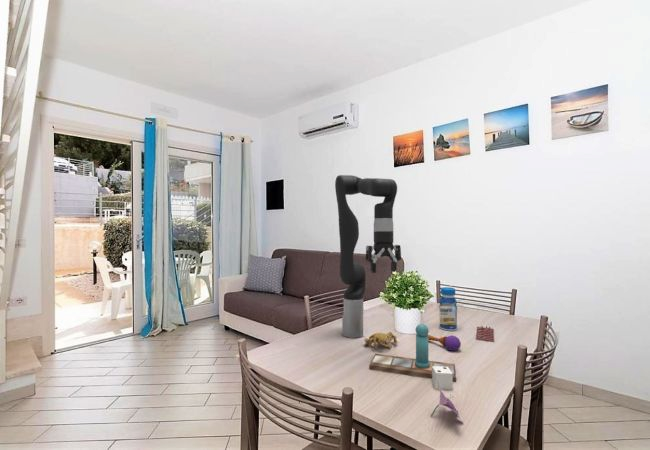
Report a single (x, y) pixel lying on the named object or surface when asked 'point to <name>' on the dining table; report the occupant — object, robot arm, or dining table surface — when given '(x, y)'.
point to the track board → (406, 366)
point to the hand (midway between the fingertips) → (383, 272)
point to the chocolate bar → (485, 334)
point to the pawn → (422, 347)
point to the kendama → (448, 342)
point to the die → (442, 377)
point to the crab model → (381, 339)
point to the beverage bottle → (448, 309)
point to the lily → (445, 401)
